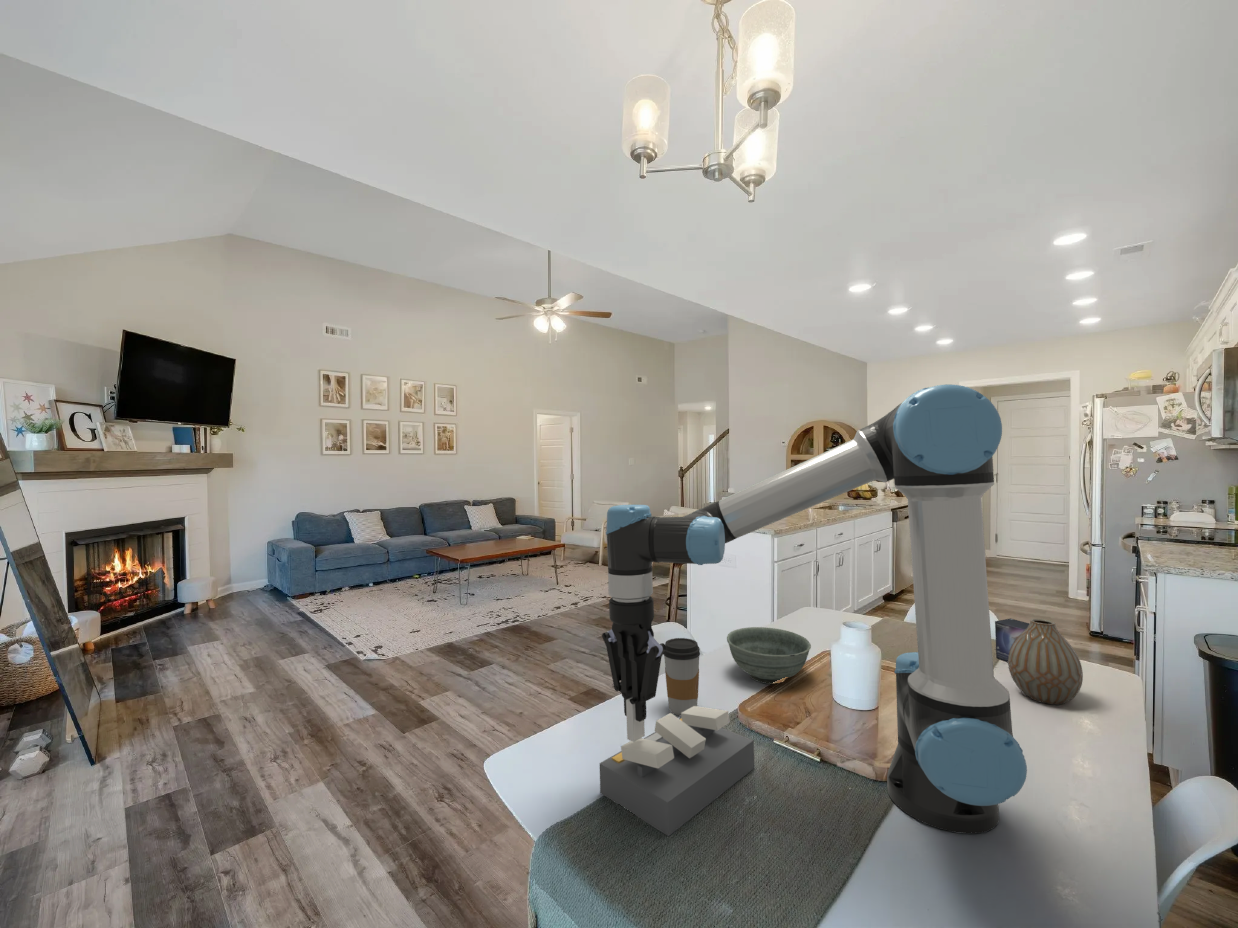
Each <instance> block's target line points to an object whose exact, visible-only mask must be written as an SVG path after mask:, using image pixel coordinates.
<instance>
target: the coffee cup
mask: <svg viewBox="0 0 1238 928" xmlns="http://www.w3.org/2000/svg"><path fill="white" fill-rule="evenodd" d="M664 644H665V646H666V650H665V652H664V653H663V655H662V656H664V672H665V673H664V675H665V683H666V694H667V700H668V701H667V702H668V709H669V710H670V713H672V714H673V715H674V716H679V717H681V713H682V712H684V711H686V710H688V709H689V708H691V707H693V706H698V702H699V701H698V699H699V687H700V685H699V684H700V683H699V682H700V655H701V651H700V649H701V648H700V647H699V646H698V645H699V644H698V642H697V641H696V640H695V639H692V638H685V637H675V638H670V639H668V640H666V641H665V642H664Z"/></svg>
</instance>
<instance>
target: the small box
mask: <svg viewBox="0 0 1238 928" xmlns="http://www.w3.org/2000/svg"><path fill="white" fill-rule="evenodd" d="M1029 624H1030V622H1025V621H1020V620H1017V619H1014V618H1006V619H1000V620H996V621H994V627H995V628H994V630H995V631H994V633H995V634H994V635H995V655H996V656H995V658H996V660H997V659H999V660H1000V661H1004V662H1006V663H1008V657H1009V651H1010V648H1011V646H1012V644H1013V642H1014V641H1015V640H1016V638H1017V637H1018V636H1019V635H1020V634H1021V633H1022V632H1023V631H1024V630H1026V629H1027V627H1028V626H1029Z"/></svg>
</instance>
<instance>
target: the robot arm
mask: <svg viewBox="0 0 1238 928" xmlns="http://www.w3.org/2000/svg"><path fill="white" fill-rule="evenodd" d="M1002 435H1003V424H1002V418H1001V416H1000V413H999V411H998V409H997V407H996V406H995V405H994V404H993V402H992V401H991V400H990V399H989V398H988V397H986V396H985V395H984V394H982V393H980V392H979V391H977V390H975V389H973V388H971V387H968V386H965V385H960V384H939V385H934V386H930V387H929V386H928V387H924V388H921V389H918V390H917V391H915V392H913V393H911V394H910V395H909V396H908V397H906V399H905V400H903V401H902V402H901V403H899V404H898V405H897V406H895V408H893V409H892V410H890V411H889V412H888V413H887V414H885V415H884V416H883V417H881V418H879V419H877V420H875V421H874V422H872V423H871V424H869V425H867V426H865V427H862V428H860V429H858V430H856V433H855V435H854V437H853V439H851V440H848V441H846V442H844V443H842V444H840V445H837V446H835V447H834V448H832V449H831V448H830V449H829V450H827V451H824V452H822V453H819V454H818V455H816V456H813V457H812V458H809V459H807V460H804V461H803V462H801V463H798V464H796V465H794V466H792V467H790V468H788V469H785V470H783V471H781V472H778V473H777V474H774V475H772V476H770V477H768V478H765V479H763V480H762V481H759V482H757V483H755V484H753V485H749V486H747V487H746V488H744V489H741V490H740V491H737V492H735V493H733V494H731V495H729V496H726V497H725V498H722V499H720V500H719V501H716V502H713V503H710V504H709V505H707V506H705V507H702V508H700V509H697V510H695V511H693V512H691V513H689V514H686V515H683V516H666V517H665V516H663V517H661V516H652V513H651V508H650V506H649V505H647V504H620V505H613V506H610V507H609V509H608V510H607V512H606V531H605V536H606V548H607V549H606V550H607V552H606V553H607V577H608V578H607V581H608V582H607V586H608V587H607V588H608V596H610V597H611V598H609V600H608V609H609V611H608V613H609V614H608V615H609V620H610V621H611V622H612V624H611V629H610V630H607V631H605V632H603V633H602V634H601V638H602V640H603V642H604V644H605V647H606V652H607V657H608V663H609V667H610V672H611V673H610V674H611V677H612V683H613V684H612V685H613V688H614V690H615V692H620V694H621V696H622V698H623V711H624V712H623V713H624V716H625V717H626V738H627V740H629V742H630V741H632V742H635V741H636V740H638V739H640V738H643V737H644V738H645V737H646V735H645V734H646V733H645V732H646V731H645V730H646V729H645V720H646V719H647V702H648V701H650V700H652V699H653V698H656V695H657V691H658V690H657V688H658V684H659V683H658V681H659V675H660V670H661V662H662V657H663V656H664V655H663V653H664V652H665V650H666V646H665V642H664V643H659V642H658V641H657V639H656V638H655V632H654V630H653V627H652V623H653V621H654V617H655V608H654V607H655V606H654V605H655V603H654V598H653V596H652V595H653V594H654V584H653V581H654V580H653V579H654V578H653V563H670V564H689V565H690V564H691V565H698V566H703V565H715V564H719V563H721V561H723V559H724V554H725V550H726V544H727V543H730V542H731V541H734V540H736V539H739V538H740V537H743V536H746V535H748V534H750V533H752V532H755V531H757V530H759V529H762V528H765V527H767V526H769V525H772V524H773V523H776V522H780V521H782V520H783V519H786V518H788V517H791V516H793V515H795V514H798V513H801V512H803V511H806V510H807V509H809V508H812V507H815V506H817V505H819V504H821V503H825V502H826V501H828V500H831V499H833V498H835V497H838V496H841V495H843V494H845V493H847V492H849V491H853V490H855V489H857V488H860V487H862V486H864V485H866V484H870V483H871V482H874V481H879V482H882V483H887V482H890V481H892V480H893V483H894V488H895V489H896V490H897V491H899V492H900V493H901V494H902V495H904V497H906V499H907V507H908V509H907V511H908V512H907V513H908V525H909V538H910V553H911V555H910V556H911V568H912V569H911V571H912V583H913V599H914V610H915V611H914V612H915V626H916V627H915V629H916V641H917V652H916V651H915V652H913V651H912V652H904V653H901V654H900V655H898V656H897V657H896V660H895V670H894V674H895V684H896V686H895V687H896V688H895V689H896V720H897V722H896V723H897V725H896V727H897V728H896V729H897V746H896V749H895V750H894V754H893V757H892V760H891V763H890V764H889V767H888V770H887V773H886V774H887V776H886V777H887V778H886V781H887V785H886V786H887V787H886V788H887V794H888V796H889V797H890V799H891V801H892V802H893V803H894V804H895V805H896V806H897V807H898V808H899V809H901V811H903V812H905V814H908V815H909V816H910V817H912V818H913V819H916V820H917V821H919V822H921V823H924V824H926V825H928V826H931V827H933V828H936V829H940V830H944V831H948V832H953V833H959V834H971V835H972V834H981V833H986V832H989V831H991V830H993V829H994V828H995V827H996V826H997V825H998V823H999V821H1000V813H999V805H1000V804H1002V803H1005V802H1006V801H1007V800H1009V799H1010V798H1012V797H1015V796H1016V795H1017V794H1018V793H1019V792H1020V791H1021V790H1022V788H1023V787H1024V785H1025V782H1026V779H1027V773H1028V769H1027V768H1028V767H1027V762H1026V759H1025V755H1024V754H1023V749H1022V747H1021V745H1020V743H1019V742H1018V741H1017V739H1016V738H1015V737H1014V735H1013V723H1012V710H1011V698H1010V691H1009V690H1008V689H1007V688H1006V686H1004V685H1003V684H1002V683H1001V682H1000V681H999V680H997V679H996V678H995V673H994V671H995V670H994V661H993V659H994V658H993V645H992V644H993V643H992V632H991V630H992V629H991V616H990V614H991V613H990V603H989V600H990V599H989V589H988V587H989V586H988V575H987V560H986V548H985V546H986V544H985V533H984V521H983V520H984V517H983V505H982V503H983V502H982V497H983V496H984V495H985V493H987V491H989V490H990V489H991V488H992V487H993V486H994V485H995V479H994V478H995V477H994V476H995V475H994V461H993V460H994V459H993V457H994V455H995V453H996V452H997V449H998V448H999V445H1000V443H1001V440H1002Z"/></svg>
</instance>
